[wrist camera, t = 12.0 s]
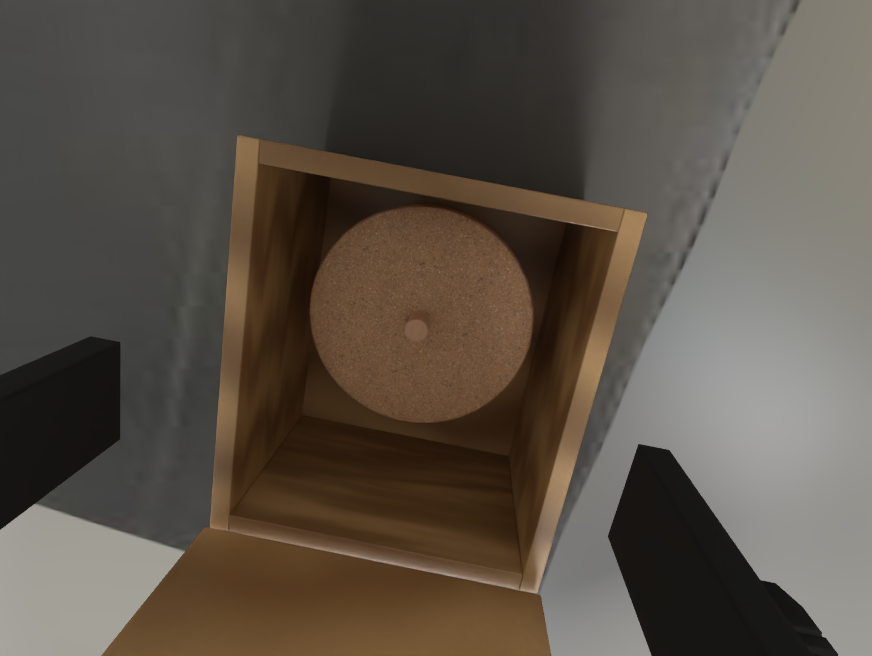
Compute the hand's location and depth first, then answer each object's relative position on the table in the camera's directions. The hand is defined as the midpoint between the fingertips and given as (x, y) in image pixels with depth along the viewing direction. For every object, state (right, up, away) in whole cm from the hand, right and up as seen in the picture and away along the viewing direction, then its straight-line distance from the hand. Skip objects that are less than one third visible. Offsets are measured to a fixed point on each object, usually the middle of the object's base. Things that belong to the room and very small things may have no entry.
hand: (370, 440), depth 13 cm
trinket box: (+1, +5, +19) cm, 20 cm away
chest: (+1, +3, +21) cm, 21 cm away
